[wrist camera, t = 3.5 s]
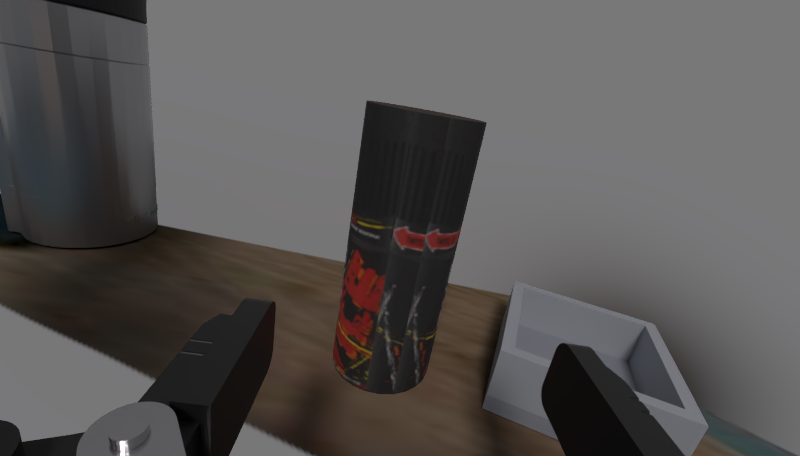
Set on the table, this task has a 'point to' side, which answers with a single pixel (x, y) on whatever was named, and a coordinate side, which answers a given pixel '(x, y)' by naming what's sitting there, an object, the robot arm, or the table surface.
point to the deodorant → (402, 242)
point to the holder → (610, 339)
